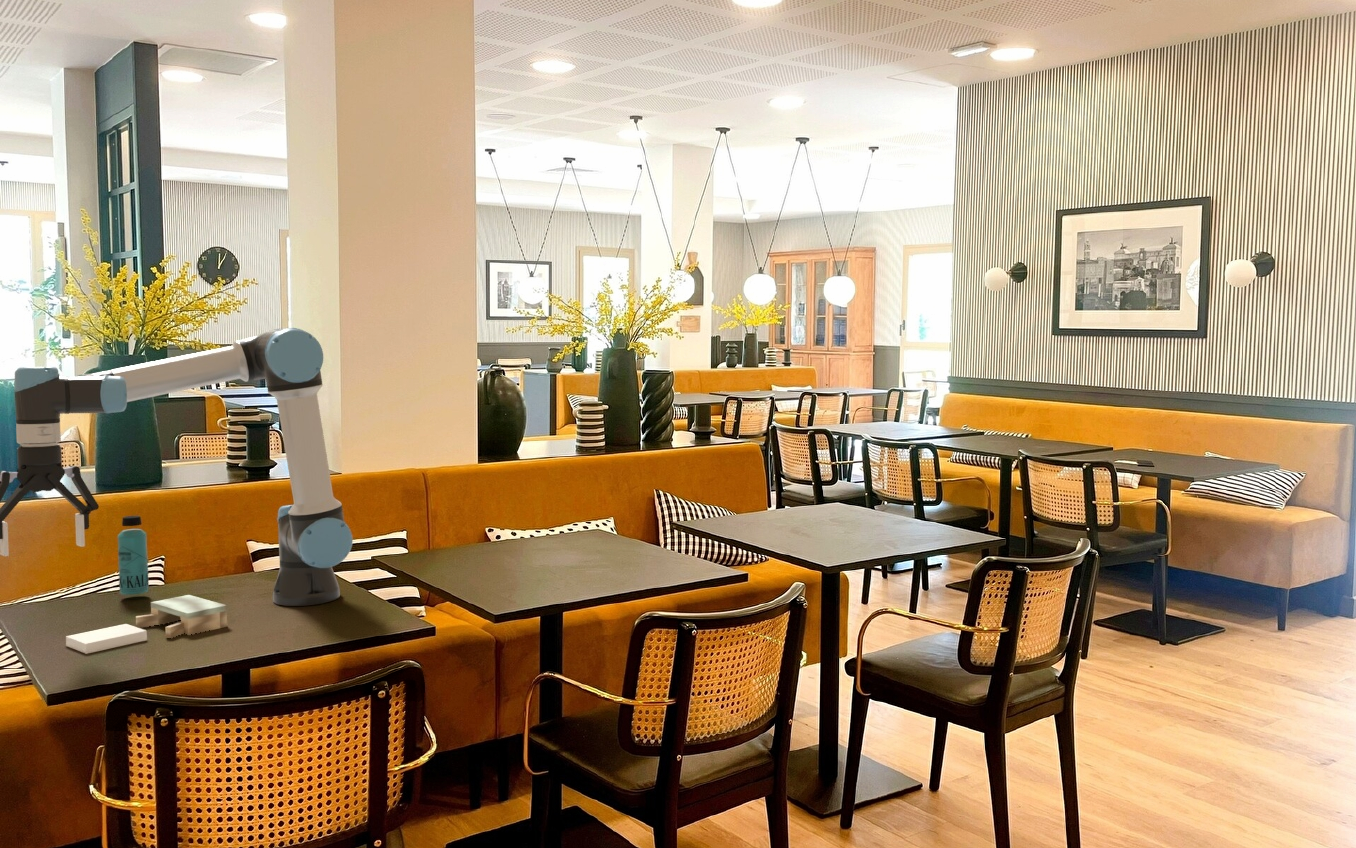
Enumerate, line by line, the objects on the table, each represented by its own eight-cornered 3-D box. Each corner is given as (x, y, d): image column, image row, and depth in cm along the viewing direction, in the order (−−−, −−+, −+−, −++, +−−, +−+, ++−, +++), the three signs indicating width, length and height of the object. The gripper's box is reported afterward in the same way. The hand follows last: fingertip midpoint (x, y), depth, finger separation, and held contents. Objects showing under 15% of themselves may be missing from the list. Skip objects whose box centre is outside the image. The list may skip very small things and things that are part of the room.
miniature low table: (169, 639, 220) (168, 617, 220) (133, 627, 230) (132, 605, 230) (227, 626, 230) (226, 605, 230) (189, 615, 240) (188, 594, 240)
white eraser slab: (86, 653, 211) (85, 644, 210) (66, 646, 216) (65, 636, 216) (147, 640, 220) (146, 630, 220) (126, 633, 226) (126, 623, 225)
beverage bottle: (126, 595, 259) (122, 514, 258) (154, 594, 260) (150, 513, 258) (114, 601, 253) (110, 518, 251) (143, 601, 253) (139, 518, 252)
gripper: (-29, 450, 199) (-24, 562, 200) (113, 441, 217) (117, 544, 219) (-40, 447, 204) (-35, 556, 205) (99, 439, 222) (103, 539, 224)
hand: (43, 550), depth 212 cm, fingers open, 13 cm apart
